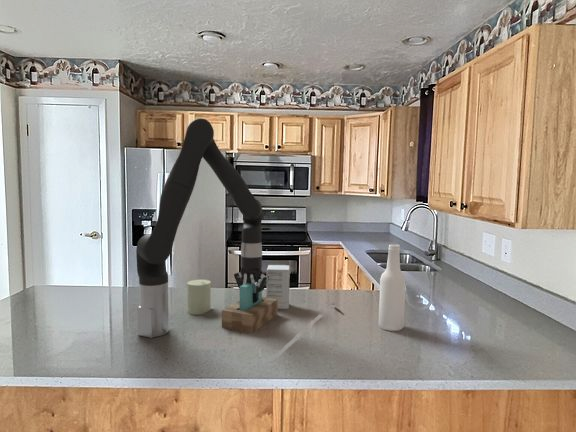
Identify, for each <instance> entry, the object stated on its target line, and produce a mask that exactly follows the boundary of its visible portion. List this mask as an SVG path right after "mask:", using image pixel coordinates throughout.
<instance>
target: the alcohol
mask: <svg viewBox="0 0 576 432" xmlns="http://www.w3.org/2000/svg"><path fill="white" fill-rule="evenodd" d="M400 251H401V245H400V244H396V243H391V244H389V245H388V253H387V254H388V255H387V259H386V260H387V263H386V268H385V270H384V272H382V273H381V274H380V275H381V276H380V278H379V301H378V327H380V329H382V330H384V331H388V332H398V331H402V330H403V328H404V325H405V306H406V305H405V301H406V282H407V281H406V277H405V275H404V273H403V272H402V269H401V258H400V257H401V256H400V255H401V254H400Z"/></svg>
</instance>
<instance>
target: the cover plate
mask: <svg viewBox="0 0 576 432" xmlns="http://www.w3.org/2000/svg"><path fill="white" fill-rule="evenodd" d="M261 282H262V281H261V278H260V279H259V286H260V284H261ZM253 293H254V292H253V287H252V283H250V282H249V283H246V284H244V285H242V286H240V289H239V301H240V311H247V310H249V309H250V308H252V307H254V306H255V305H257V304H259V303H261V302H262V297H263V296H262V295H263V291H261V292H259V300H258V301H257V302H256V303H253Z"/></svg>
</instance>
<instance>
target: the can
mask: <svg viewBox="0 0 576 432" xmlns="http://www.w3.org/2000/svg"><path fill="white" fill-rule="evenodd" d="M211 283H212V282H211V280H209V279H191V280H188V281H187V283H186V284H187V308H186V309H187V310H186V312H187V313H188V314H190V315H193V316H194V315H196V316H197V315H204V314H205V313H207V312H209V311H211V310H212V308H211V292H212V291H211V286H212V285H211Z"/></svg>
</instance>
